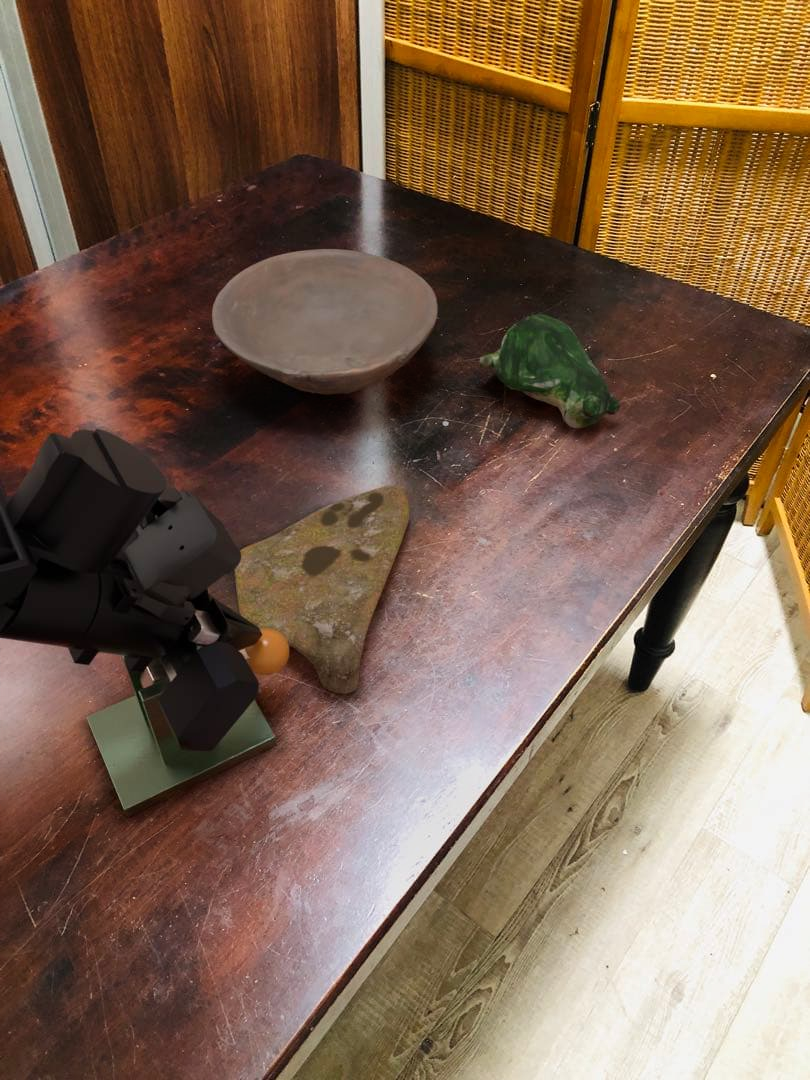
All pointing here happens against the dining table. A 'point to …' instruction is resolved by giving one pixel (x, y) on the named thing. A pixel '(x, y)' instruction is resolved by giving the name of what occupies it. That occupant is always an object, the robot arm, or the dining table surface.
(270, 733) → the switch bracket
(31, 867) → the dining table surface
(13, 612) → the robot arm
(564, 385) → the figurine
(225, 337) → the bowl
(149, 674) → the switch lever
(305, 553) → the decorative stone
